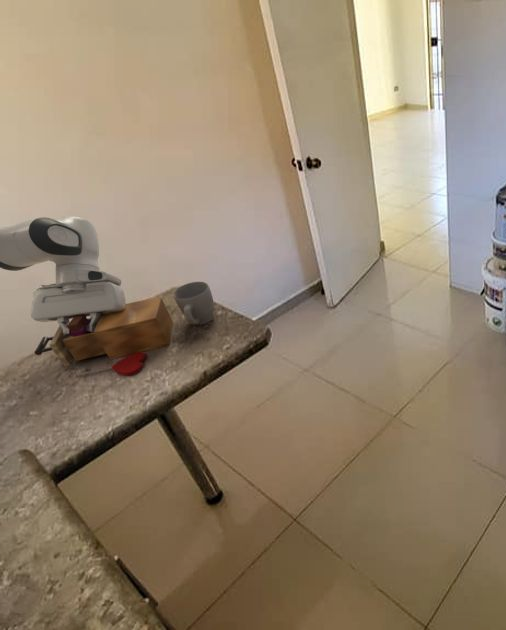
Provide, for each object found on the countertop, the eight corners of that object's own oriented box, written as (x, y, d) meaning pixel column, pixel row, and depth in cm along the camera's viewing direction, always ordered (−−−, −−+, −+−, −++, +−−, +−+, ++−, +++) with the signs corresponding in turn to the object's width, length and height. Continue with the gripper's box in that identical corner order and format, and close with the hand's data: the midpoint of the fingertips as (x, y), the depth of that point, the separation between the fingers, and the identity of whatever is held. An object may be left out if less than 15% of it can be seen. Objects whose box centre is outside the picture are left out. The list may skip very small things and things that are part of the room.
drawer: (42, 371, 104) (25, 350, 100) (54, 348, 112) (39, 327, 108) (121, 352, 109) (108, 331, 105) (128, 331, 116) (116, 310, 113)
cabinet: (110, 359, 108) (93, 332, 103) (118, 335, 117) (103, 308, 112) (169, 345, 112) (155, 318, 107) (173, 322, 120) (160, 296, 115)
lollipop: (70, 388, 100) (140, 373, 103) (68, 385, 99) (139, 370, 102) (82, 366, 106) (148, 352, 109) (80, 363, 106) (147, 349, 109)
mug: (191, 312, 124) (178, 283, 118) (223, 308, 125) (211, 279, 119) (178, 338, 114) (164, 307, 108) (213, 333, 115) (200, 302, 109)
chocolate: (82, 351, 108) (66, 326, 104) (90, 340, 112) (74, 315, 107) (92, 350, 108) (76, 324, 104) (100, 339, 112) (84, 313, 108)
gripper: (23, 283, 105) (23, 338, 103) (113, 271, 108) (115, 325, 105) (43, 289, 111) (44, 342, 109) (127, 278, 114) (130, 330, 111)
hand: (79, 334), depth 107 cm, fingers open, 4 cm apart
